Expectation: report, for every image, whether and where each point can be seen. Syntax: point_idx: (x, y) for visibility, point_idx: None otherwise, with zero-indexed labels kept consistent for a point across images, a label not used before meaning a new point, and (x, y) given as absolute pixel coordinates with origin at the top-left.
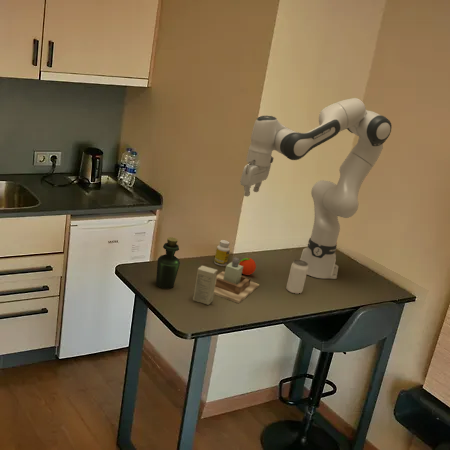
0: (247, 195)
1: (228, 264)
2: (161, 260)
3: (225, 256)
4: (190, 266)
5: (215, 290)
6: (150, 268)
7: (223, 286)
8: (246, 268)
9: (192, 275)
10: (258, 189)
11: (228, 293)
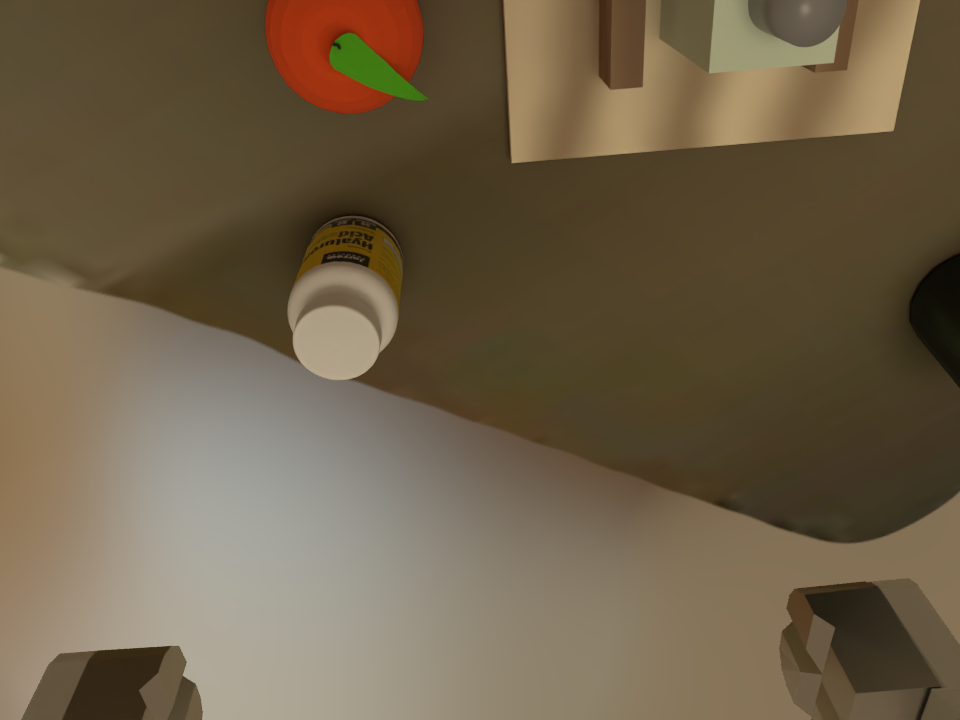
0: (918, 605)
1: (786, 63)
2: None
3: (372, 251)
4: (582, 350)
5: (891, 15)
6: (792, 458)
7: None
8: (417, 6)
9: (706, 270)
10: (74, 714)
11: None
